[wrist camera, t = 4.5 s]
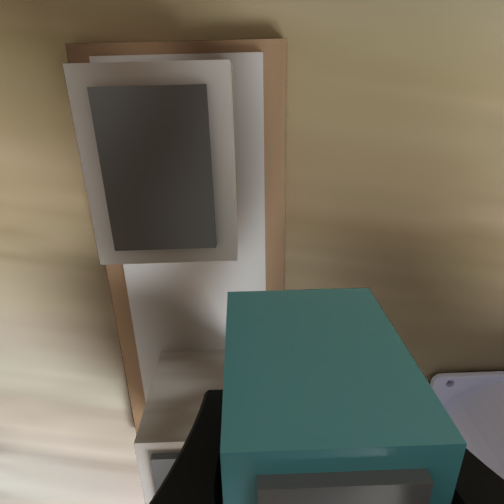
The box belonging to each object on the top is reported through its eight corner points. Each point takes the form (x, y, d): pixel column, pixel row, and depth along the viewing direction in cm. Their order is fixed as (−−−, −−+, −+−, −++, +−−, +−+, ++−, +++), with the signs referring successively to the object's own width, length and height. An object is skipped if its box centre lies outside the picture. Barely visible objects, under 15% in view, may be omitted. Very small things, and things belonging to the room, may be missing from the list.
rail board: (284, 40, 17) (314, 13, 10) (281, 426, 26) (297, 552, 19) (72, 45, 17) (-40, 21, 10) (140, 431, 26) (104, 560, 19)
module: (368, 287, 13) (475, 457, 7) (352, 428, 15) (423, 642, 9) (227, 291, 13) (219, 468, 7) (233, 432, 15) (230, 652, 9)
